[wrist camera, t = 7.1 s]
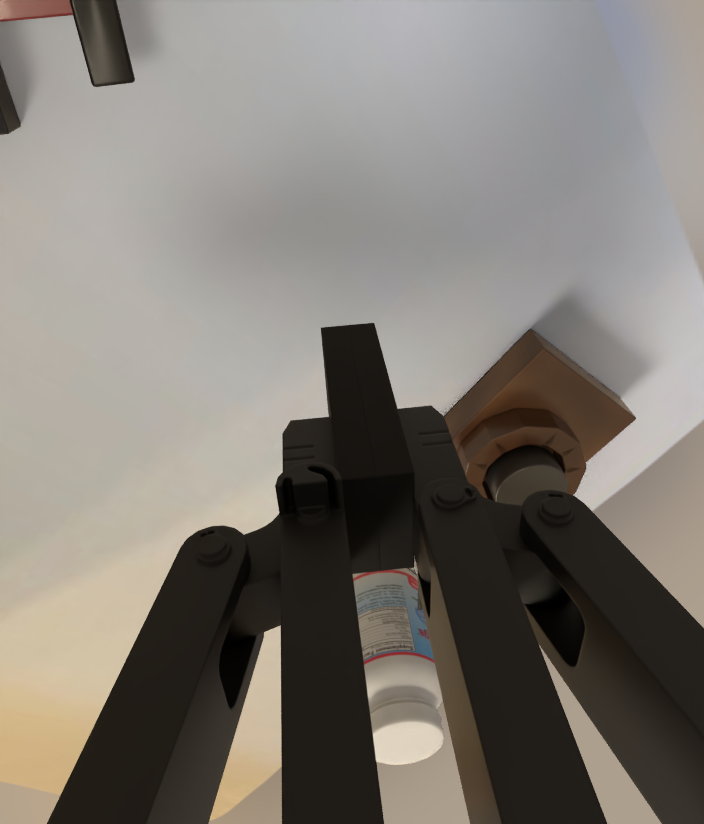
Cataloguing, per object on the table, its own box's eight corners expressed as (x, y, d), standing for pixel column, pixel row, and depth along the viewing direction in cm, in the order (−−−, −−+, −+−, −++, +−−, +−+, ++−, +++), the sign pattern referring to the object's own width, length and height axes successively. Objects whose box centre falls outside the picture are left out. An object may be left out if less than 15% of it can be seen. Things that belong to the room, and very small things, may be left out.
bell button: (523, 433, 34) (534, 453, 33) (571, 465, 36) (583, 485, 35) (472, 481, 36) (480, 502, 35) (520, 509, 38) (530, 531, 36)
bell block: (530, 328, 35) (556, 365, 32) (620, 397, 38) (652, 437, 35) (390, 471, 40) (400, 516, 36) (480, 521, 43) (497, 567, 40)
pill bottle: (421, 610, 48) (457, 764, 38) (340, 621, 47) (356, 778, 38) (420, 554, 44) (458, 707, 35) (332, 565, 44) (347, 723, 35)
